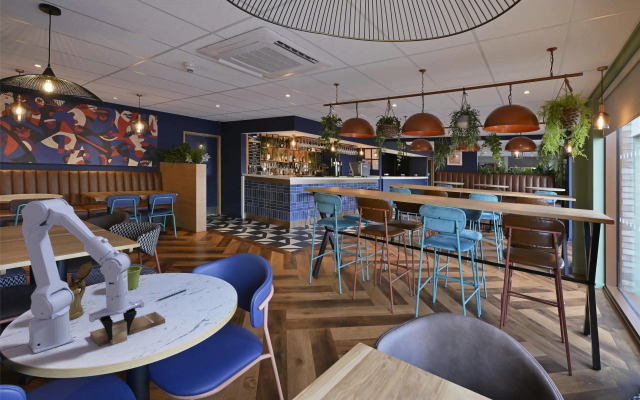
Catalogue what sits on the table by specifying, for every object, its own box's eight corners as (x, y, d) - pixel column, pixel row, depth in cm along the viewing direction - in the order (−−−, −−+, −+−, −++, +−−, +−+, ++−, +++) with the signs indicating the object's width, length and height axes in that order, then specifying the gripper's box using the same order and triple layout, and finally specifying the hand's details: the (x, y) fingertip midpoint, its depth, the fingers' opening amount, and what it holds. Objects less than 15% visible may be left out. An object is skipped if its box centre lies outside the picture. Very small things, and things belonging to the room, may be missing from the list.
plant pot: (134, 292, 138) (133, 272, 137) (112, 291, 138) (112, 272, 137) (146, 284, 147) (145, 266, 147) (126, 284, 147) (125, 265, 147)
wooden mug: (101, 308, 122) (99, 262, 120) (63, 323, 109) (60, 273, 107) (85, 304, 125) (83, 259, 123) (45, 319, 112) (43, 269, 110)
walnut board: (98, 345, 96) (98, 340, 96) (90, 336, 101) (90, 331, 101) (165, 322, 111) (165, 318, 111) (155, 315, 117) (155, 311, 116)
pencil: (186, 291, 141) (155, 303, 128) (184, 291, 142) (153, 302, 128) (186, 289, 141) (155, 301, 128) (184, 289, 141) (153, 300, 128)
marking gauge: (112, 345, 97) (112, 326, 96) (103, 335, 102) (103, 317, 102) (127, 340, 100) (126, 321, 99) (117, 330, 105) (117, 313, 105)
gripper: (93, 304, 90) (95, 350, 91) (147, 290, 101) (148, 331, 102) (85, 297, 94) (87, 341, 95) (138, 285, 105) (139, 324, 106)
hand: (118, 335), depth 99 cm, fingers closed on marking gauge, 4 cm apart
